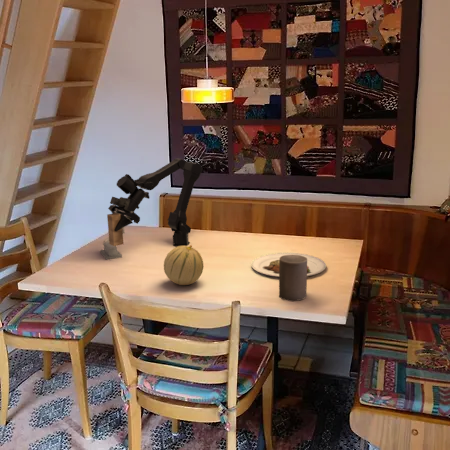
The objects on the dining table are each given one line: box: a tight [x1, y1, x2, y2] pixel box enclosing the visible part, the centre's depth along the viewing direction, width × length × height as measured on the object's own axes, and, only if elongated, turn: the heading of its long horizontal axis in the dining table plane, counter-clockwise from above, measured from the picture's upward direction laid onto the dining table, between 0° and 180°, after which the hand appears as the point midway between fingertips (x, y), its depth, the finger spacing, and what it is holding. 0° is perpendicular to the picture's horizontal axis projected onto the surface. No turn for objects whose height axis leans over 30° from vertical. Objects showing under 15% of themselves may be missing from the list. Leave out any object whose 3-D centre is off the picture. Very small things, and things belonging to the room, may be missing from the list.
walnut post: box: [106, 213, 124, 247], centre depth 231 cm, size 4×4×13 cm
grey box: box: [99, 242, 123, 261], centre depth 240 cm, size 12×7×4 cm, turn 25°
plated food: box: [250, 252, 327, 278], centre depth 219 cm, size 30×30×3 cm
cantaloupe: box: [163, 244, 204, 286], centre depth 202 cm, size 15×15×15 cm
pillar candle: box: [278, 255, 308, 302], centre depth 188 cm, size 10×10×15 cm
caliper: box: [102, 227, 125, 245], centre depth 266 cm, size 21×1×6 cm, turn 164°
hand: (112, 229), depth 230 cm, fingers closed on walnut post, 4 cm apart
